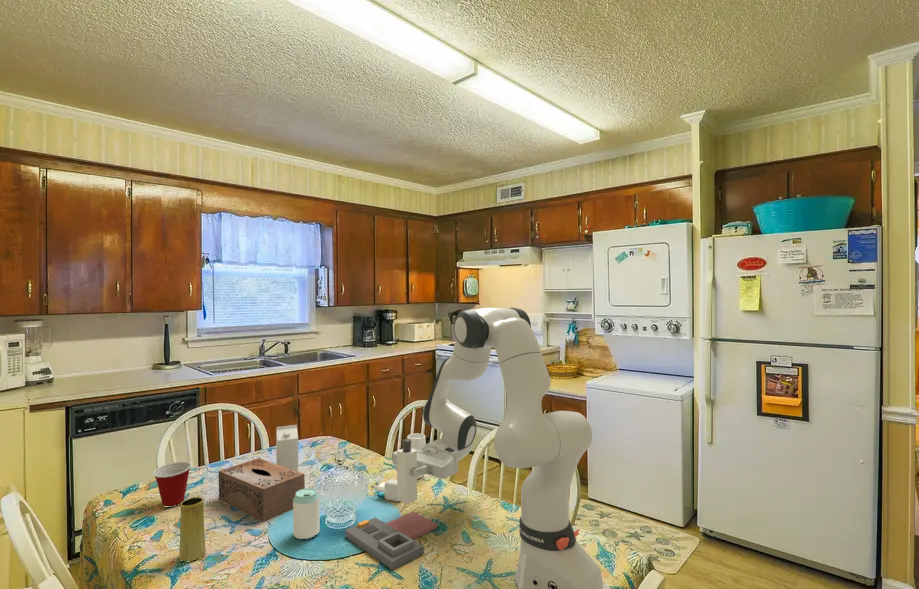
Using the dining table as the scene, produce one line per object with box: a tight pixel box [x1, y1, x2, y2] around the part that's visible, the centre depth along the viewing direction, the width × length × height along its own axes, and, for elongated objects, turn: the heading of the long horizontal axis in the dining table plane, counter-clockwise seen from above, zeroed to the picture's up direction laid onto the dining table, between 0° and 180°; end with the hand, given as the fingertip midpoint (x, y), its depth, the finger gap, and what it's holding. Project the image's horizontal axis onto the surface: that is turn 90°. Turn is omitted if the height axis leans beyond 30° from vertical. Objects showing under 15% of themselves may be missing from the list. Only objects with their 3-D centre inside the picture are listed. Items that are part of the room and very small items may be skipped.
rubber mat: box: [386, 511, 438, 540], centre depth 134 cm, size 11×11×1 cm
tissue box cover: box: [218, 457, 306, 523], centre depth 152 cm, size 26×14×10 cm, turn 55°
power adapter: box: [370, 478, 400, 502], centre depth 154 cm, size 11×5×6 cm, turn 67°
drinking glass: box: [406, 432, 427, 480], centre depth 172 cm, size 7×7×15 cm
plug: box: [396, 438, 418, 505], centre depth 132 cm, size 4×4×17 cm
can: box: [292, 487, 321, 540], centre depth 131 cm, size 7×7×12 cm
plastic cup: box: [152, 461, 192, 506], centre depth 151 cm, size 11×11×12 cm
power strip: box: [344, 517, 425, 571], centre depth 125 cm, size 22×10×4 cm, turn 44°
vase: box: [178, 496, 207, 562], centre depth 121 cm, size 6×6×14 cm
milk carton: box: [275, 424, 299, 472], centre depth 172 cm, size 7×7×19 cm
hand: (405, 470), depth 132 cm, fingers closed on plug, 4 cm apart
